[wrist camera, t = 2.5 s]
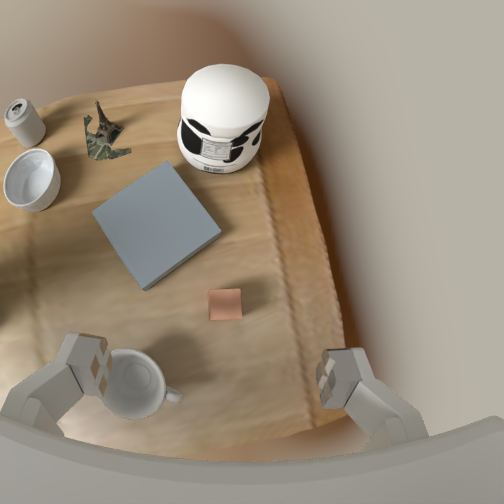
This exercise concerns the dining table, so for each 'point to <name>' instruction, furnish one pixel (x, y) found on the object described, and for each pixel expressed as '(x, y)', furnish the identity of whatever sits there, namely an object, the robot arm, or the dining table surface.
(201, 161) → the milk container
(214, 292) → the terracotta block
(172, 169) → the plinth
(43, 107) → the dining table surface
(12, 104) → the can
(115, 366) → the teacup
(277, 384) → the dining table surface
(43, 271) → the dining table surface
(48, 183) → the ramekin
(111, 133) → the eiffel tower figurine
